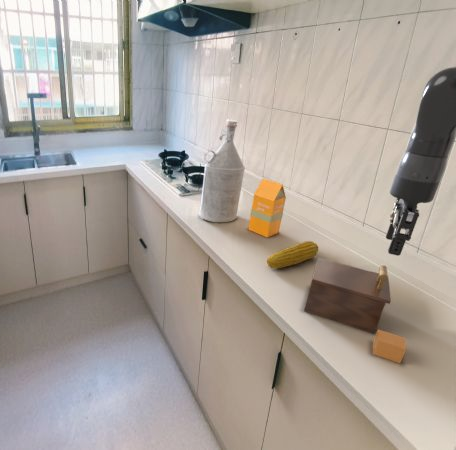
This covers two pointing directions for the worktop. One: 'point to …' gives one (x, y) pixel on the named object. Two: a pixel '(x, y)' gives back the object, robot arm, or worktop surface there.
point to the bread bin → (344, 307)
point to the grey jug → (222, 180)
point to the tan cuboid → (389, 346)
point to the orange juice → (267, 208)
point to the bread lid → (353, 280)
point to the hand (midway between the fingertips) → (392, 246)
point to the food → (293, 255)
